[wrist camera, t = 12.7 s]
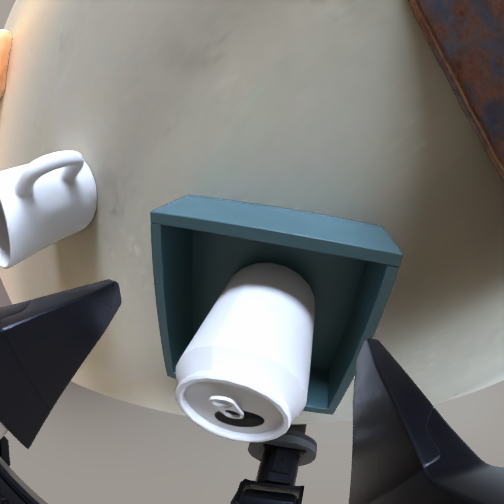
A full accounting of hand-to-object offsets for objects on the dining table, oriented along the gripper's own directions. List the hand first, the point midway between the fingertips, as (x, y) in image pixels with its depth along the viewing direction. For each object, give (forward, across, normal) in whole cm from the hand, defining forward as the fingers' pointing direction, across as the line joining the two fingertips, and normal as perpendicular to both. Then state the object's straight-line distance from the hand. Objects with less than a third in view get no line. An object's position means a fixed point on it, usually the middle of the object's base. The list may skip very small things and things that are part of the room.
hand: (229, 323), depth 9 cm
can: (+13, 0, +7) cm, 14 cm away
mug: (+13, +21, -1) cm, 25 cm away
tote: (+13, 0, +7) cm, 15 cm away
